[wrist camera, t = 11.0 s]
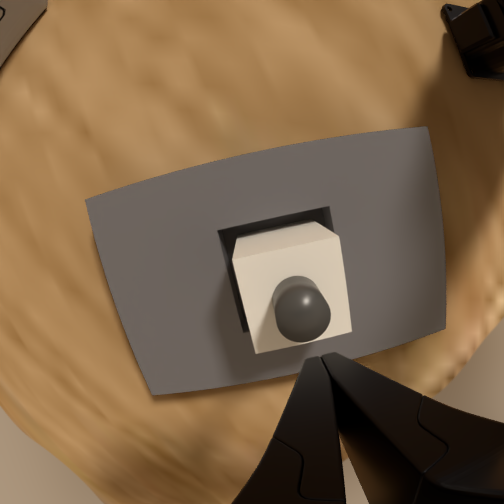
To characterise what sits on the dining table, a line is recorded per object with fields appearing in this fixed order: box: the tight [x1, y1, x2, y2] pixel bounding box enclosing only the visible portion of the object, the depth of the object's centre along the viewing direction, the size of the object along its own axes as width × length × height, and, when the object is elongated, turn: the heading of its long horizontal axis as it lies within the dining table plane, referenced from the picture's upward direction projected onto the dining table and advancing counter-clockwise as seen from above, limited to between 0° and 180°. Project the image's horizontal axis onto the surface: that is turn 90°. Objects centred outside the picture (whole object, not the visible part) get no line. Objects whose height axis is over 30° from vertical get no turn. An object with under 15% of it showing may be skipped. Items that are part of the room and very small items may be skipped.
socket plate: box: [85, 126, 446, 395], centre depth 18 cm, size 20×13×2 cm, turn 103°
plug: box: [232, 219, 352, 354], centre depth 15 cm, size 4×4×8 cm
